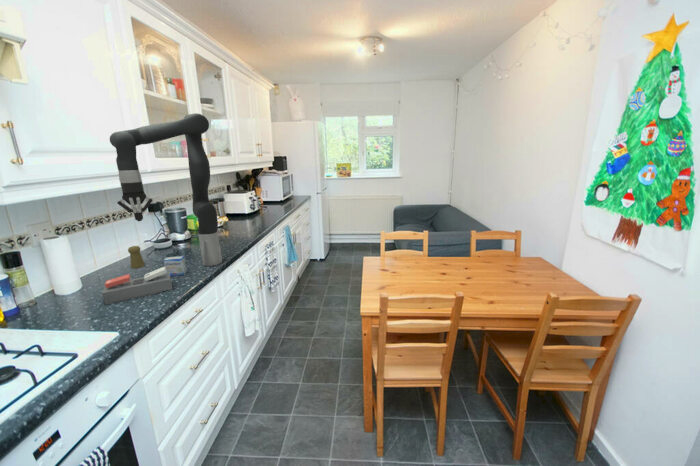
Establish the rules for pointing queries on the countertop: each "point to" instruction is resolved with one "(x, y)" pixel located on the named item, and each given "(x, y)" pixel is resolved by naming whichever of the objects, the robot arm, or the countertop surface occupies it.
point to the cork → (135, 257)
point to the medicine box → (175, 265)
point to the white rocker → (155, 273)
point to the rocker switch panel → (137, 288)
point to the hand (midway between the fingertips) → (139, 220)
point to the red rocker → (117, 281)
